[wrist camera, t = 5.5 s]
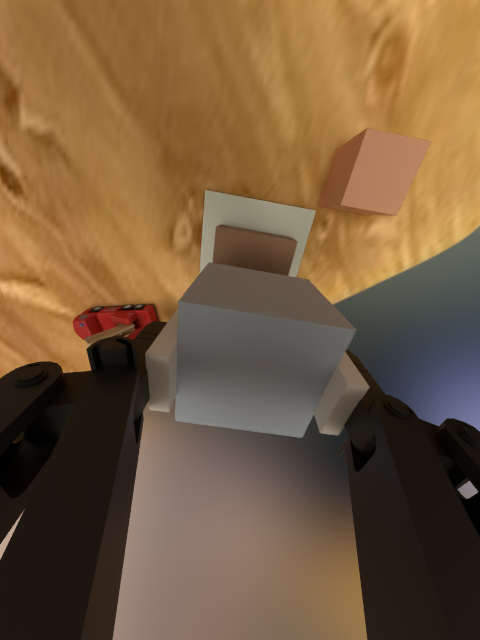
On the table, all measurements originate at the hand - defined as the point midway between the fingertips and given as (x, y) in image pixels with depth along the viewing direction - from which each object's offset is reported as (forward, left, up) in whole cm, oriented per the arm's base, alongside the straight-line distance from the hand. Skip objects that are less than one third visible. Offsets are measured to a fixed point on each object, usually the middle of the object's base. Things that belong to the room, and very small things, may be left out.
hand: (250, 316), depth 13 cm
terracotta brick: (-10, +9, -15) cm, 20 cm away
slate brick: (0, 0, 0) cm, 1 cm away
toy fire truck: (+10, -15, -15) cm, 23 cm away
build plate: (-1, 0, -15) cm, 15 cm away
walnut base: (0, 0, -14) cm, 14 cm away
